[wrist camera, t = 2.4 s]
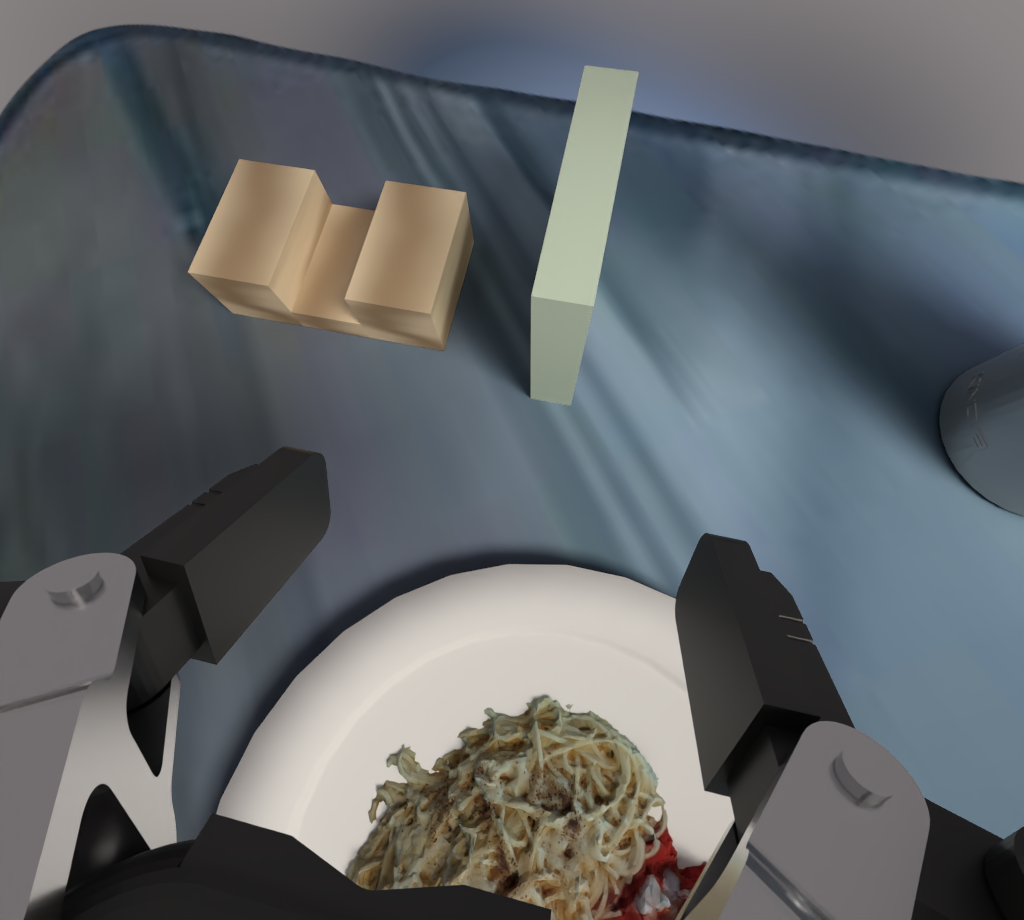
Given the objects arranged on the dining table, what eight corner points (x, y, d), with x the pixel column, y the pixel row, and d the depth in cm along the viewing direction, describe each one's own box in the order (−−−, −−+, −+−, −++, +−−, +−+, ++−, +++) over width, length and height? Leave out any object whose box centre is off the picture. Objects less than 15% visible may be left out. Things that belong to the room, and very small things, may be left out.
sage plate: (603, 237, 30) (638, 71, 20) (570, 406, 27) (593, 306, 17) (567, 231, 30) (584, 65, 20) (530, 398, 27) (530, 296, 17)
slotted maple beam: (474, 242, 30) (466, 192, 26) (444, 350, 28) (430, 313, 24) (275, 211, 31) (239, 159, 27) (232, 313, 29) (187, 272, 25)
